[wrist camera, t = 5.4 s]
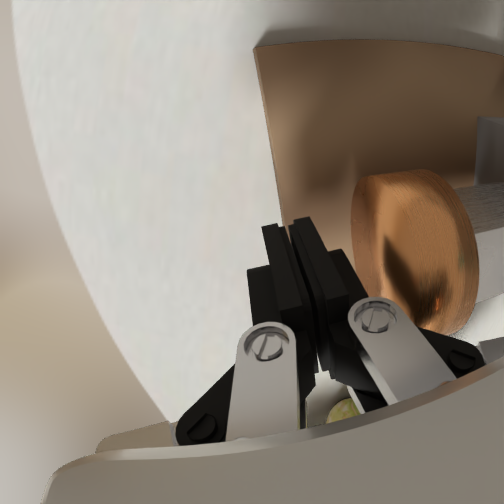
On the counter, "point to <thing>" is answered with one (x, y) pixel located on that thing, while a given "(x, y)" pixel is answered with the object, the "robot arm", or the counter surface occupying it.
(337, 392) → the counter surface
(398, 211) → the shaft
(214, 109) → the counter surface
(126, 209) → the counter surface
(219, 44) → the counter surface
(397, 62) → the board
